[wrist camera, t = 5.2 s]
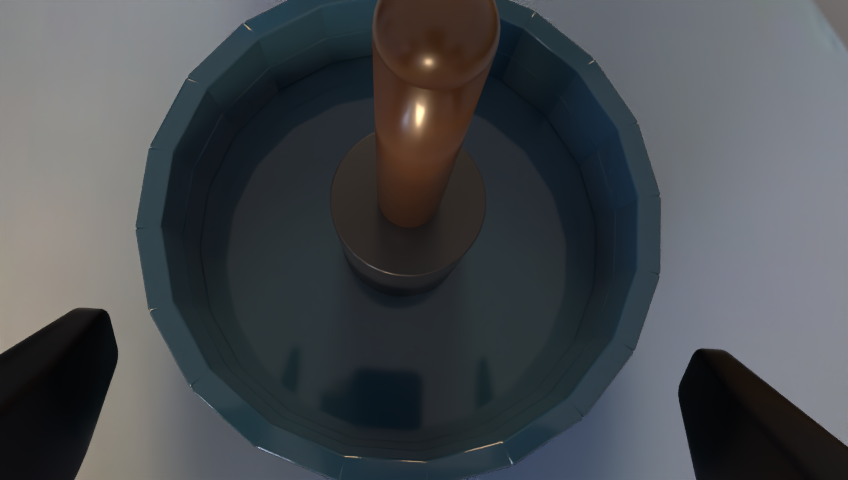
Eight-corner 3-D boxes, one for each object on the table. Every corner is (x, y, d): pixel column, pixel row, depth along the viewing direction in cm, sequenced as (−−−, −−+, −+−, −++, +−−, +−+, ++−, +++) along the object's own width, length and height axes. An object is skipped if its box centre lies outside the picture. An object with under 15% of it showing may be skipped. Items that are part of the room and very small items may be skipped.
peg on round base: (480, 271, 21) (673, 94, 7) (366, 314, 20) (335, 217, 7) (436, 162, 21) (533, -198, 8) (324, 202, 21) (213, -106, 7)
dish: (689, 311, 22) (761, 300, 18) (322, 553, 19) (306, 605, 15) (467, -20, 24) (485, -101, 19) (109, 167, 21) (44, 120, 17)
